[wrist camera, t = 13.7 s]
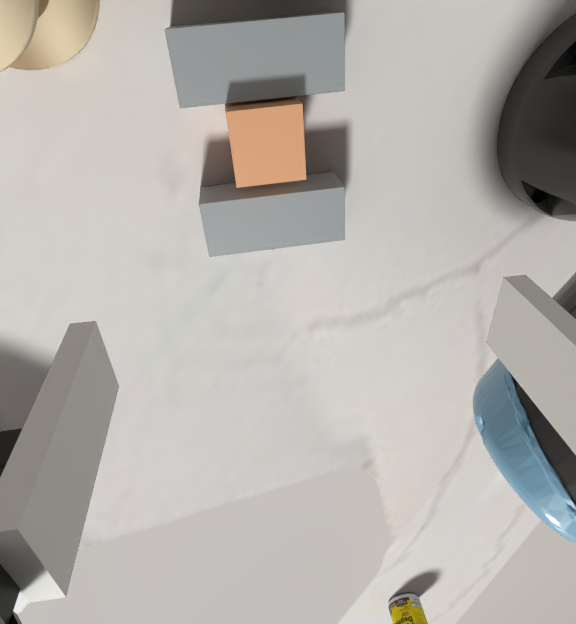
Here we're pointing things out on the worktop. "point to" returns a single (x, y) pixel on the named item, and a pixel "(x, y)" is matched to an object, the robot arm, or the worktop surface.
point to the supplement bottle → (407, 609)
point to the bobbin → (44, 31)
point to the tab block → (267, 141)
